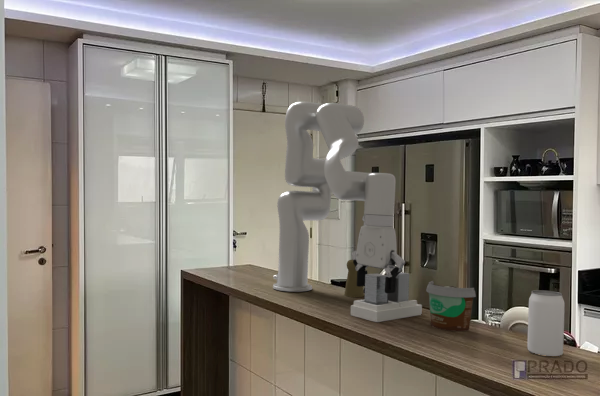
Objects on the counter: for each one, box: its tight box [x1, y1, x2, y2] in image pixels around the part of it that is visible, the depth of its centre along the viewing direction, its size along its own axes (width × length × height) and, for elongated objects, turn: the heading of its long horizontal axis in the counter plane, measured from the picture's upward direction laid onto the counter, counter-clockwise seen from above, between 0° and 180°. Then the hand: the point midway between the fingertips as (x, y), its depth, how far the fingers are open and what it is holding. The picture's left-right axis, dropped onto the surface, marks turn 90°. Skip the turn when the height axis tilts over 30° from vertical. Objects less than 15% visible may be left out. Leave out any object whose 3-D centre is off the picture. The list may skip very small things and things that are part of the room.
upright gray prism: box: [364, 273, 388, 305], centre depth 134 cm, size 4×4×8 cm
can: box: [526, 289, 565, 357], centre depth 106 cm, size 6×6×12 cm
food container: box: [426, 280, 477, 332], centre depth 124 cm, size 12×6×10 cm, turn 40°
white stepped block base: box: [350, 271, 423, 323], centre depth 136 cm, size 9×17×10 cm, turn 129°
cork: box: [343, 258, 365, 298], centre depth 163 cm, size 6×6×11 cm
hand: (375, 289), depth 134 cm, fingers open, 9 cm apart
